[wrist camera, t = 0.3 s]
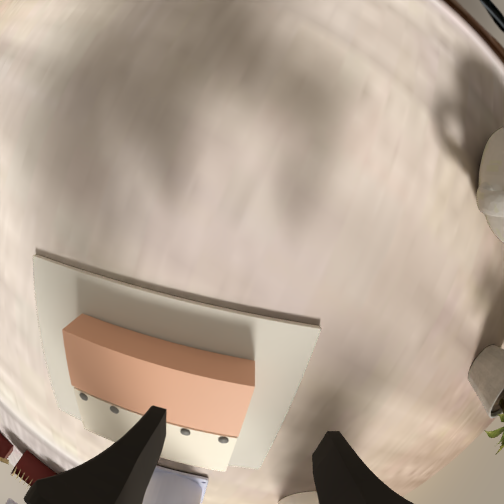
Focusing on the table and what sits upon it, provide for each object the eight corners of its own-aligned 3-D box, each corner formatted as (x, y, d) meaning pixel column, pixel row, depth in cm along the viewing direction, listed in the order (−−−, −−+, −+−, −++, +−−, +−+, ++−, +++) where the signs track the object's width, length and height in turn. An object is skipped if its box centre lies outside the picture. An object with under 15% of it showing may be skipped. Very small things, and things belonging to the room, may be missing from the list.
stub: (240, 410, 20) (238, 436, 17) (87, 366, 19) (71, 385, 16) (255, 360, 19) (255, 386, 16) (82, 313, 18) (62, 329, 15)
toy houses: (171, 528, 31) (164, 561, 21) (134, 531, 35) (127, 556, 25) (-11, 404, 25) (-36, 430, 15) (-9, 431, 29) (-27, 452, 19)
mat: (259, 466, 23) (259, 469, 22) (60, 406, 22) (58, 408, 22) (319, 325, 19) (321, 329, 18) (36, 254, 18) (32, 255, 17)
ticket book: (227, 449, 21) (225, 472, 18) (96, 410, 21) (84, 429, 18) (239, 413, 20) (237, 439, 17) (88, 369, 20) (73, 388, 17)
